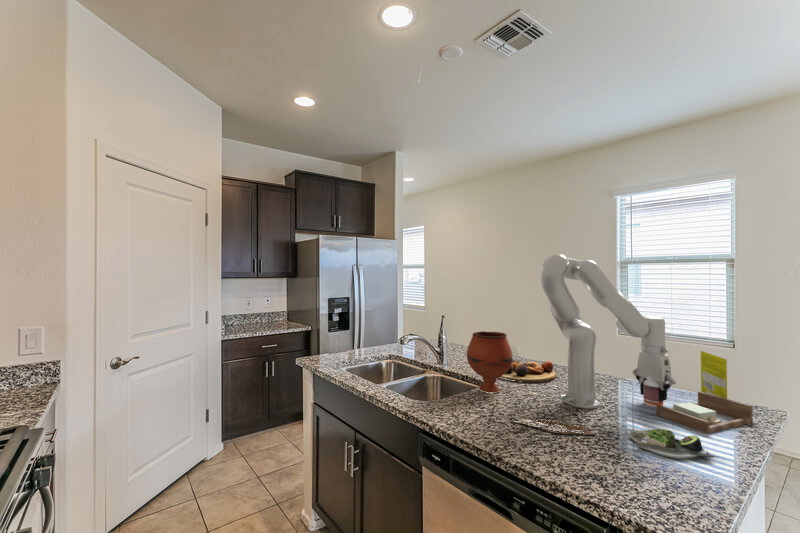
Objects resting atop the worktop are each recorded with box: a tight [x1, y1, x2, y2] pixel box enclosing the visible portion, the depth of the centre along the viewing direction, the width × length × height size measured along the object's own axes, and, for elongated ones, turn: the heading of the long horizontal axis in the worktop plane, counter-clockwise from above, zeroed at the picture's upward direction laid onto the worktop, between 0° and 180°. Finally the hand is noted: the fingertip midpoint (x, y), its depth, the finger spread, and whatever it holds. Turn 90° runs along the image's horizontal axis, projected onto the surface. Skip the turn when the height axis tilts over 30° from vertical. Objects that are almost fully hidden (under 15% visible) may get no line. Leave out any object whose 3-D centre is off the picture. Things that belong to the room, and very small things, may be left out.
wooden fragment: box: [525, 417, 594, 436], centre depth 120 cm, size 26×11×1 cm, turn 63°
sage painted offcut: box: [672, 401, 717, 418], centre depth 122 cm, size 7×9×2 cm
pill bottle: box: [643, 376, 664, 408], centre depth 137 cm, size 6×6×11 cm
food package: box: [700, 350, 728, 399], centre depth 139 cm, size 15×1×20 cm, turn 168°
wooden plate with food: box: [500, 360, 557, 383], centre depth 184 cm, size 32×32×8 cm
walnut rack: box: [655, 391, 754, 434], centre depth 124 cm, size 24×16×7 cm, turn 111°
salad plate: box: [628, 428, 714, 460], centre depth 107 cm, size 19×18×5 cm
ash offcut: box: [671, 407, 717, 422], centre depth 122 cm, size 8×10×2 cm
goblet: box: [466, 331, 513, 392], centre depth 157 cm, size 19×19×25 cm
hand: (653, 396), depth 137 cm, fingers closed on pill bottle, 6 cm apart
